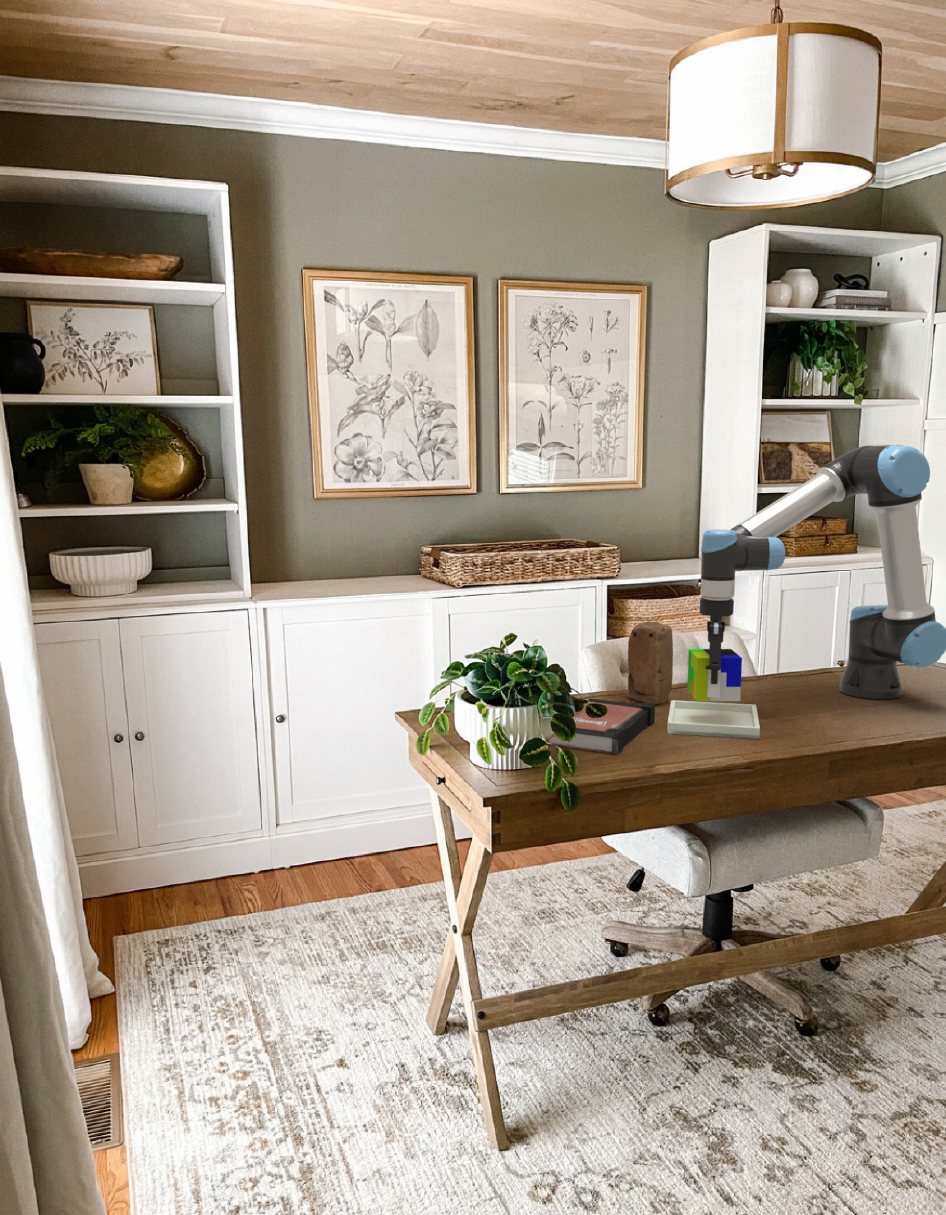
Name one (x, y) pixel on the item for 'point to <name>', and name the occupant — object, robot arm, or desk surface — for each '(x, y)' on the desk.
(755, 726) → the tray
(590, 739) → the book
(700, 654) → the puzzle toy
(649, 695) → the block
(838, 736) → the desk surface
